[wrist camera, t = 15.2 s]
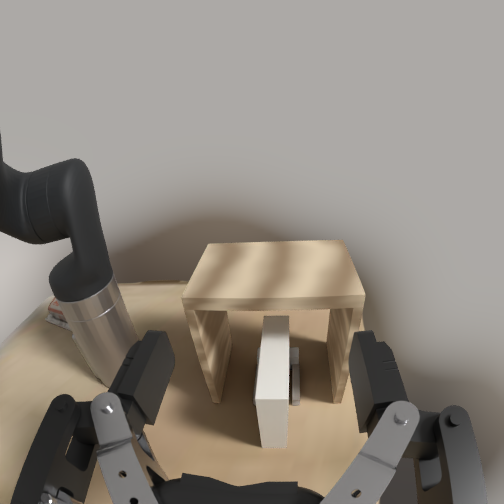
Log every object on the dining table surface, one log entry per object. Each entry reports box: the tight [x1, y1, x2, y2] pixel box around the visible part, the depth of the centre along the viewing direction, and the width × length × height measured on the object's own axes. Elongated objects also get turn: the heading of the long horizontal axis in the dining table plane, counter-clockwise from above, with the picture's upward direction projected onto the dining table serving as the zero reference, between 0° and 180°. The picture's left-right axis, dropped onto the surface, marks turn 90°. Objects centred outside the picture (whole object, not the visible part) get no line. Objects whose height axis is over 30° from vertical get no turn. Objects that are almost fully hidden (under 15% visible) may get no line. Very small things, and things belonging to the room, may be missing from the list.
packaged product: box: [45, 298, 72, 331], centre depth 53 cm, size 18×5×10 cm
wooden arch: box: [181, 240, 365, 405], centre depth 35 cm, size 18×12×18 cm
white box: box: [255, 316, 289, 448], centre depth 31 cm, size 3×12×12 cm, turn 174°
